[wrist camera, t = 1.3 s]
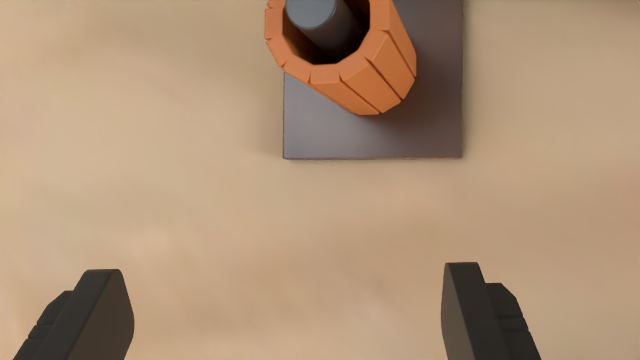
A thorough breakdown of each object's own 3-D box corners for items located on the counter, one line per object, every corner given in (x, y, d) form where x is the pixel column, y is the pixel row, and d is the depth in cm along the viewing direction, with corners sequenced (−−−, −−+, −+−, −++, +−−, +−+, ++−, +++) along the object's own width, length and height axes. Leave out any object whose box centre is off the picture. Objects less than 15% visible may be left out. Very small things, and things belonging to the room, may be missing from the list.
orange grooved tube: (324, 24, 32) (265, -40, 23) (416, 17, 30) (390, -53, 22) (323, 116, 32) (263, 86, 23) (416, 113, 30) (389, 80, 22)
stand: (290, -8, 34) (190, -114, 22) (463, -24, 31) (451, -155, 19) (288, 160, 33) (185, 140, 22) (462, 158, 31) (449, 136, 19)
